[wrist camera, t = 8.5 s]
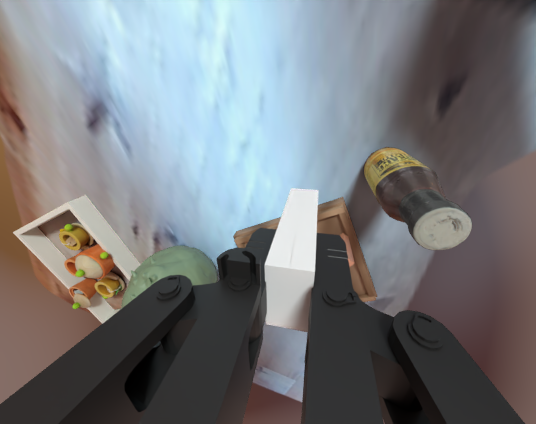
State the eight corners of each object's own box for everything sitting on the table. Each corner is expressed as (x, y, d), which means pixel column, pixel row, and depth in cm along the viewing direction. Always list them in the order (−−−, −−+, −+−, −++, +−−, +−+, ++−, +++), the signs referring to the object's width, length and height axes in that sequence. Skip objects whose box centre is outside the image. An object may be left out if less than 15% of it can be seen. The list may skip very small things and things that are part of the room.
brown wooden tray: (343, 197, 38) (345, 204, 35) (375, 289, 45) (378, 301, 43) (236, 231, 45) (231, 239, 43) (278, 306, 53) (276, 316, 50)
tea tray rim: (85, 194, 49) (67, 202, 45) (169, 301, 60) (160, 313, 56) (31, 224, 57) (12, 232, 53) (114, 313, 68) (103, 324, 64)
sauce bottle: (408, 144, 32) (517, 191, 15) (401, 184, 35) (487, 263, 18) (361, 147, 34) (410, 193, 16) (358, 185, 37) (397, 260, 19)
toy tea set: (67, 214, 52) (19, 235, 44) (126, 236, 52) (89, 262, 43) (81, 286, 65) (46, 314, 56) (129, 305, 64) (101, 336, 56)
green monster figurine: (171, 282, 57) (106, 363, 39) (161, 219, 48) (72, 287, 30) (229, 296, 55) (188, 387, 37) (230, 232, 46) (177, 312, 28)
